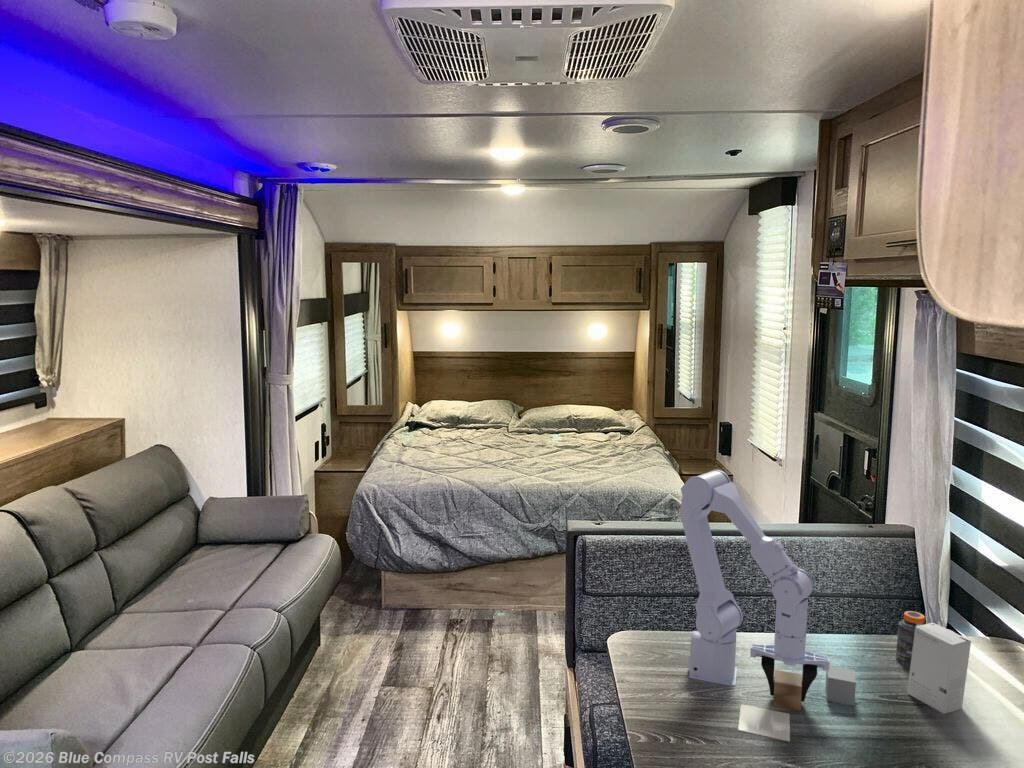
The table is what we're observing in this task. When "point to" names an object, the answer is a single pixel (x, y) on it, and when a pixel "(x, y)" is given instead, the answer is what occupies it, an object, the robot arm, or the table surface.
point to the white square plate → (764, 722)
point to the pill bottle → (907, 636)
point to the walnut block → (787, 690)
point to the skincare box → (938, 667)
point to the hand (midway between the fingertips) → (787, 696)
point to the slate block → (840, 685)
